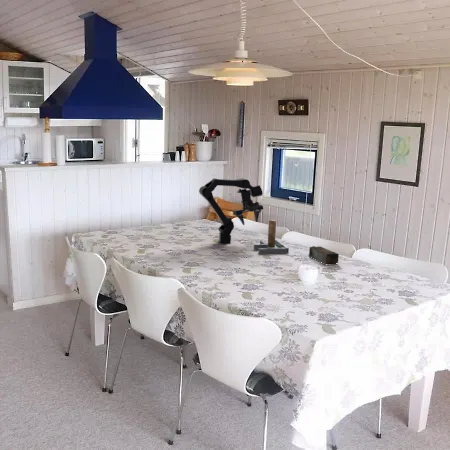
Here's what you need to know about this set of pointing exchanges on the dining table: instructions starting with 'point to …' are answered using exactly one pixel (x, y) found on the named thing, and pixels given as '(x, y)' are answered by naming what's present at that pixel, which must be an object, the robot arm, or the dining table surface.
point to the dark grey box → (323, 255)
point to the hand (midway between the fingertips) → (250, 223)
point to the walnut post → (271, 233)
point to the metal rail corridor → (264, 248)
